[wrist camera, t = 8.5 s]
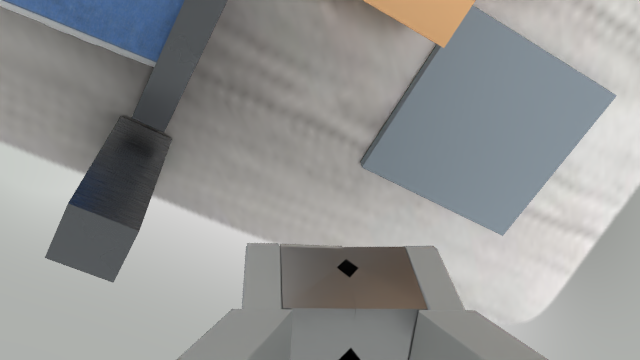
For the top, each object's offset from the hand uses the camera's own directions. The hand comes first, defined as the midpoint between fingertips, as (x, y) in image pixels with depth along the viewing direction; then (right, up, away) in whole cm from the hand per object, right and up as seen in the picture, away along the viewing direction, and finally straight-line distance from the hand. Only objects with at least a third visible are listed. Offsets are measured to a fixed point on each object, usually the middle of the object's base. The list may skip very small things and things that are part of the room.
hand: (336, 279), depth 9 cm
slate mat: (+8, +4, +19) cm, 21 cm away
